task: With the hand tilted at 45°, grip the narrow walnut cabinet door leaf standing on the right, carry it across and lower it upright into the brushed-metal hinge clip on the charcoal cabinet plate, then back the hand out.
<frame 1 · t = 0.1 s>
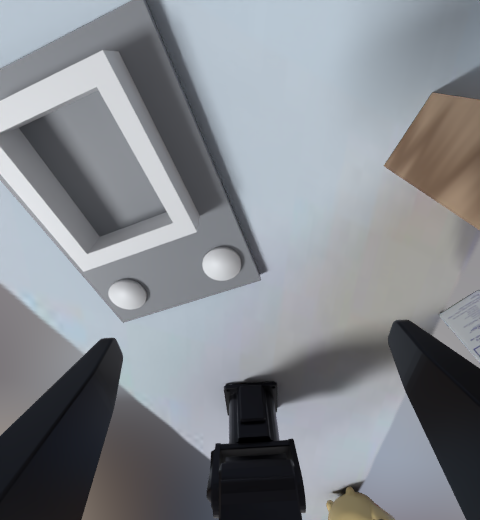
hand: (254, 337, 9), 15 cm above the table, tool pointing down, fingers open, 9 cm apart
toy pig: (351, 489, 58), on the table
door: (434, 145, 21), on the table
hinge plate: (109, 167, 21), on the table
medicine box: (473, 316, 31), on the table
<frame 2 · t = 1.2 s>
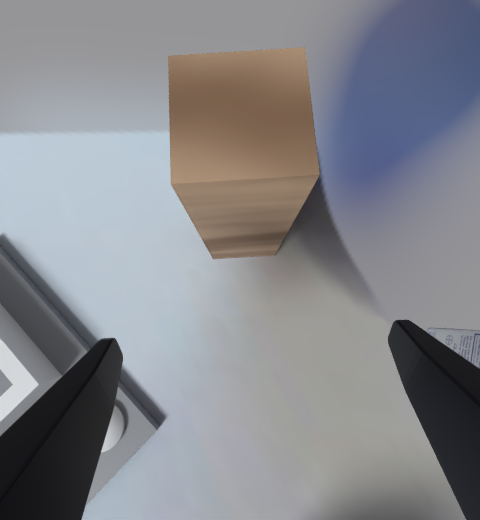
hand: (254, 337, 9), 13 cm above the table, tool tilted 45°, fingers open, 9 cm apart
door: (242, 227, 24), on the table
medicine box: (471, 368, 22), on the table
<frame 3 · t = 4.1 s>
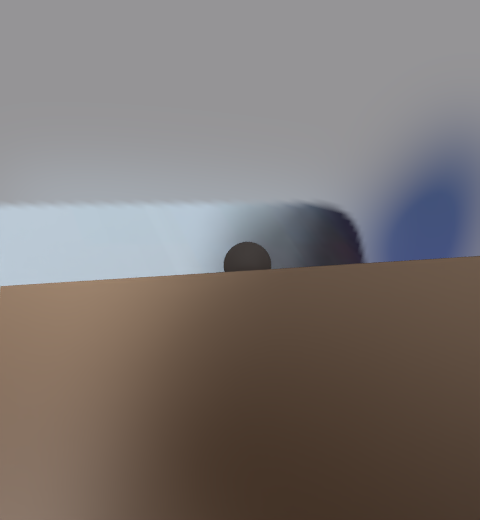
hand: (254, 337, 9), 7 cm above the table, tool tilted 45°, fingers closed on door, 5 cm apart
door: (251, 352, 16), on the table, touching gripper
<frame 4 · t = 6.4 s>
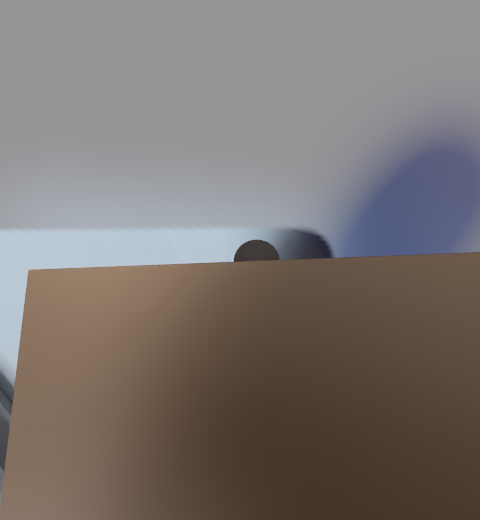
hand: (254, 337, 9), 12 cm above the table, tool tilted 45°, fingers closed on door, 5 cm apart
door: (254, 356, 16), point 5 cm above the table, touching gripper
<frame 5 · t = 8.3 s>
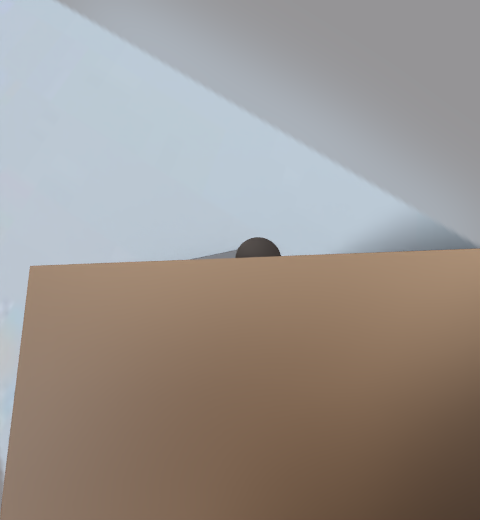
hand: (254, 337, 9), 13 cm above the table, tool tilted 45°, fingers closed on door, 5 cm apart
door: (254, 355, 16), point 6 cm above the table, touching gripper
when the fingers open (9 cm above the table, at t = 10.2 s): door drops 1 cm, resting on hinge plate.
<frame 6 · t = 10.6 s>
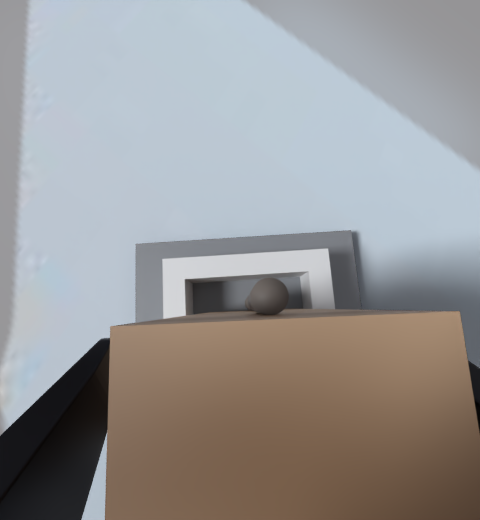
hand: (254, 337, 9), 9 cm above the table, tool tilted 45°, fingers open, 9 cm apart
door: (253, 352, 18), point 1 cm above the table, touching hinge plate
hinge plate: (250, 347, 18), on the table
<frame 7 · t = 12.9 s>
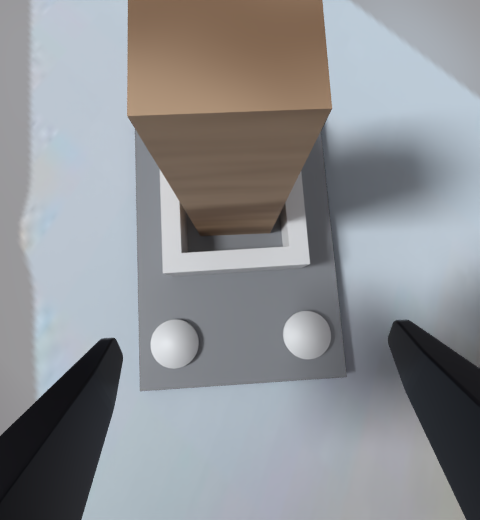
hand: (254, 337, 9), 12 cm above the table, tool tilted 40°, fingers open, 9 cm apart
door: (234, 201, 21), point 1 cm above the table, touching hinge plate
hinge plate: (232, 202, 22), on the table
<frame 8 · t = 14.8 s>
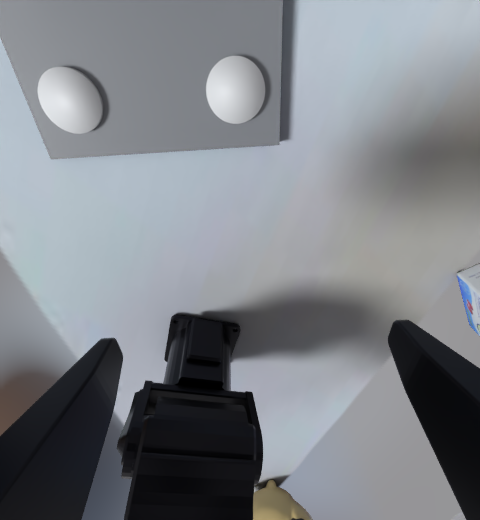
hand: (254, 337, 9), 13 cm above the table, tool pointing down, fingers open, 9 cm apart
toy pig: (272, 484, 51), on the table
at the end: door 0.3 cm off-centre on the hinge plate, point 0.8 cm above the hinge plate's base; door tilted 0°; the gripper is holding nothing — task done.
